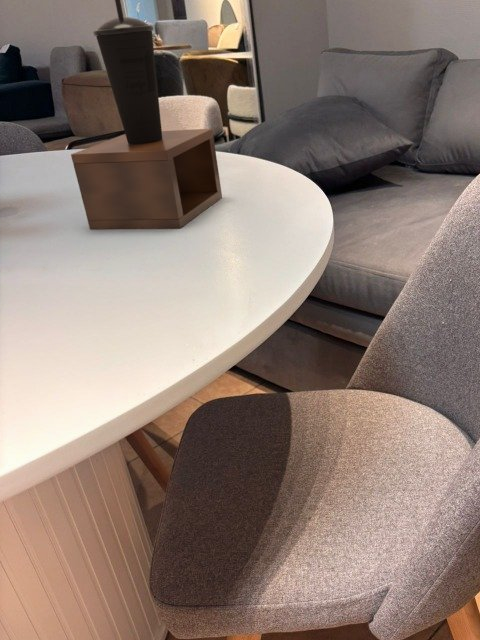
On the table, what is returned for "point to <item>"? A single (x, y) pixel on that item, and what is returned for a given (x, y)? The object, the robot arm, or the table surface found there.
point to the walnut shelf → (148, 180)
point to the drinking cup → (132, 75)
